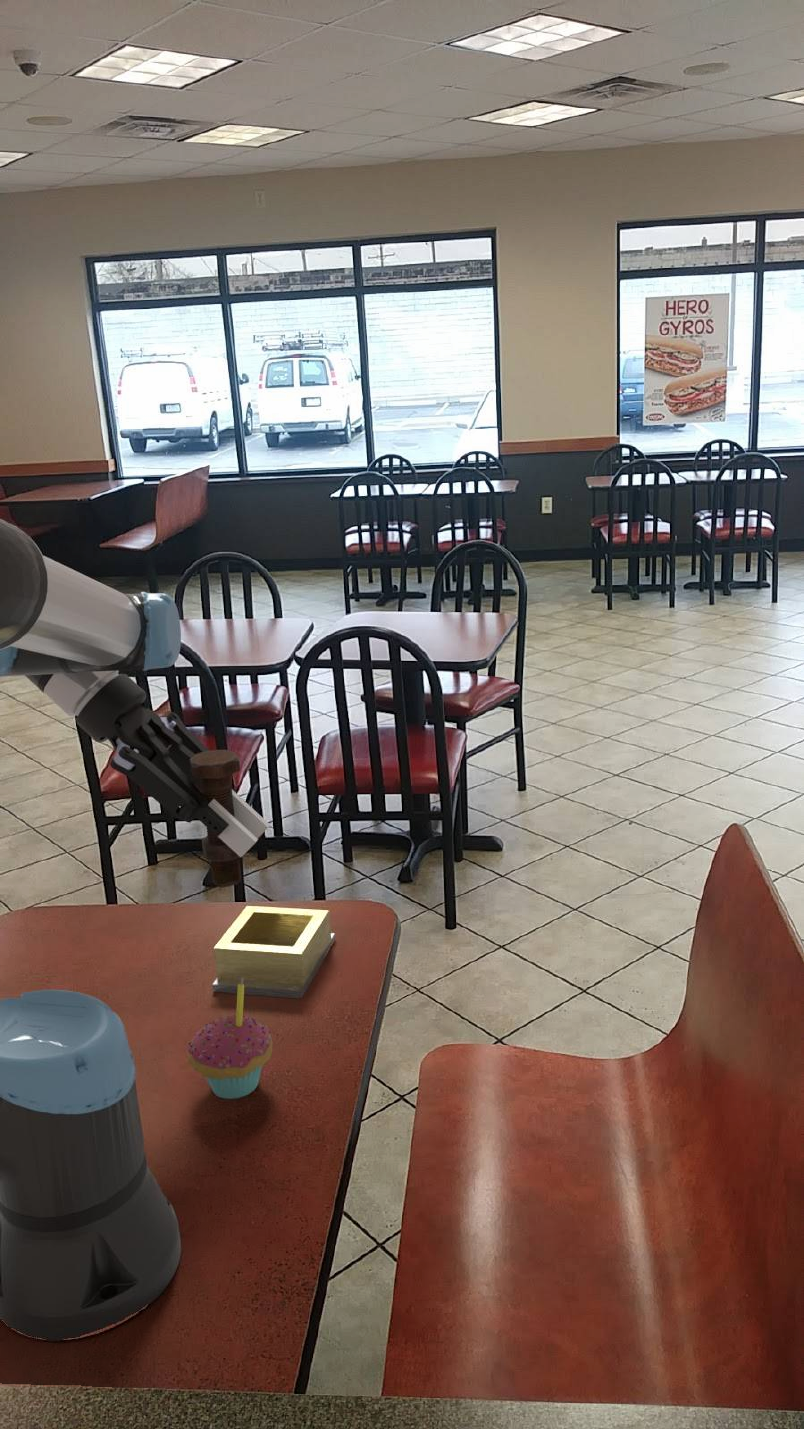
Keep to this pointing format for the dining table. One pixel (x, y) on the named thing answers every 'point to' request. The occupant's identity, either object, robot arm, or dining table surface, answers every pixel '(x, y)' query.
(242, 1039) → the cupcake
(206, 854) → the bolt
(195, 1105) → the dining table surface
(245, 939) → the mount
